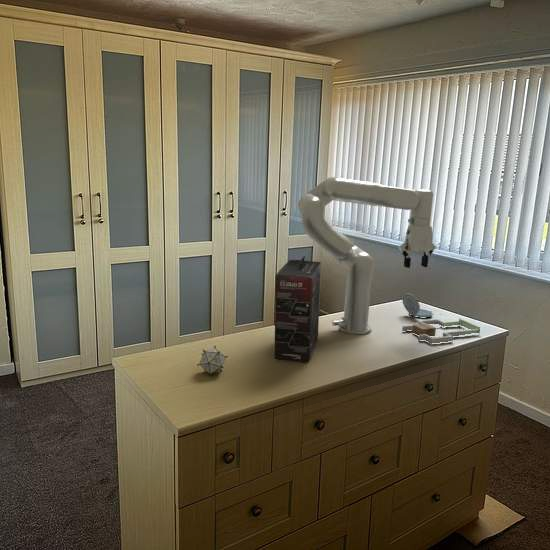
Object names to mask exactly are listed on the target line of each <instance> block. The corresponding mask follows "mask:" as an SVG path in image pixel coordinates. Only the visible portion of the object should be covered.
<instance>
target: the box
mask: <svg viewBox="0 0 550 550" xmlns="http://www.w3.org/2000/svg"><path fill="white" fill-rule="evenodd" d="M423 323H427V324H439V325H441V326H443V327H444V326H452V325H461V326H464V327H466V328H468V329H471V330H464V329H463V330H454V331H445V332H444V331H443V332H442V336H435V337H433V338H432V337H430V336H428V335H426V334H422V335H419V337H418V339H417V340H426V341H428V342H429V343H431V344H432V343H440V342H448V341H452V342H453V339H454V338H453V336H459V335H465V334H471V333H479V334H480V333H481V332H480V331H481V326H479V325H477V324H474V323H472V322H470V321H468V320H465V319H463V318H458V320H453V321H442V320H440V319H438V318H434V319H425V320H424V319H423V320H418V321H417V324H423ZM407 330H413V324H410V325H402V330H401V332H402V331H407ZM429 343H428V344H429Z"/></svg>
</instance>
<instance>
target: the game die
mask: <svg viewBox="0 0 550 550" xmlns="http://www.w3.org/2000/svg"><path fill="white" fill-rule="evenodd" d="M202 351H203V353H201V359H200V361H199V363H197V364H196V366H200V367H201V368H203V369H204V370H205V371H206V372H207V373H209V376H208V377H211V376H212V374H214V373H216V372H217V373H218V371H220V372H223V370H222V369H224V367H225V366H223V365H224V363H225V359H226V358H228V357H229V356H228V355H224V354H223V353H222V352H221V351H220V350H218V349H217V346H216V345H214V346H213V348H210V349H207V350H205V349H202Z"/></svg>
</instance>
